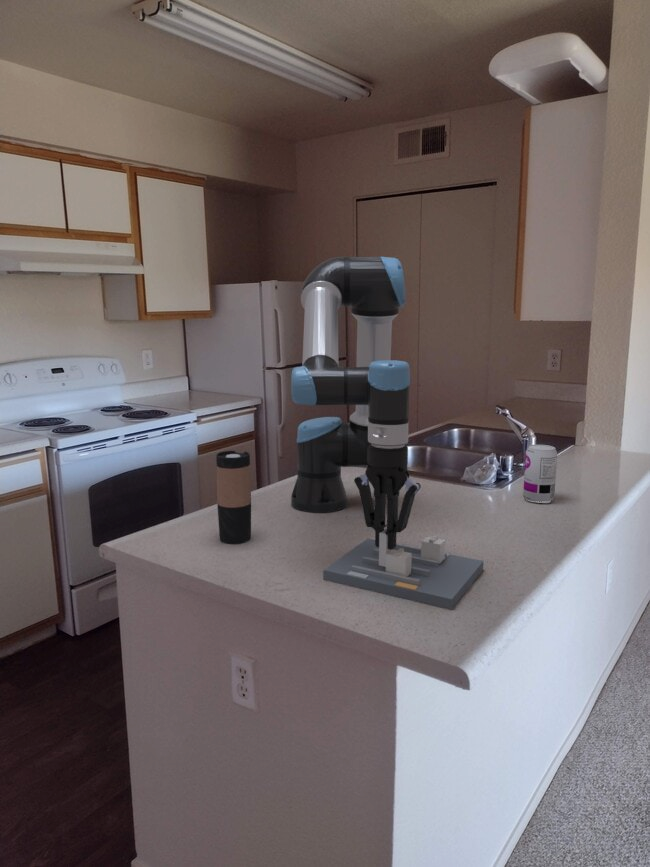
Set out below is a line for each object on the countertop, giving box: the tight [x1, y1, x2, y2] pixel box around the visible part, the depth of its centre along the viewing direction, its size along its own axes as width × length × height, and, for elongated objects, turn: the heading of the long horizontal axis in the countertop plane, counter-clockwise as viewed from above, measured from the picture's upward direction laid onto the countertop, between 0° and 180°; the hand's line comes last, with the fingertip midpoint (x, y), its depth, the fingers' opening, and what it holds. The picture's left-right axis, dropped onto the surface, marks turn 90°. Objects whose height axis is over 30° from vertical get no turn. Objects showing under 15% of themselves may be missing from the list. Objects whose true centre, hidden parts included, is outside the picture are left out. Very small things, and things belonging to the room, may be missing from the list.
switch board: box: [322, 538, 484, 610], centre depth 129 cm, size 26×20×3 cm
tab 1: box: [386, 548, 412, 577], centre depth 123 cm, size 4×3×5 cm
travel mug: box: [215, 450, 252, 545], centre depth 147 cm, size 8×8×20 cm
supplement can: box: [522, 444, 558, 502], centre depth 177 cm, size 8×8×15 cm
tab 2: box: [420, 534, 446, 564], centre depth 130 cm, size 4×3×5 cm
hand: (385, 563), depth 125 cm, fingers closed
